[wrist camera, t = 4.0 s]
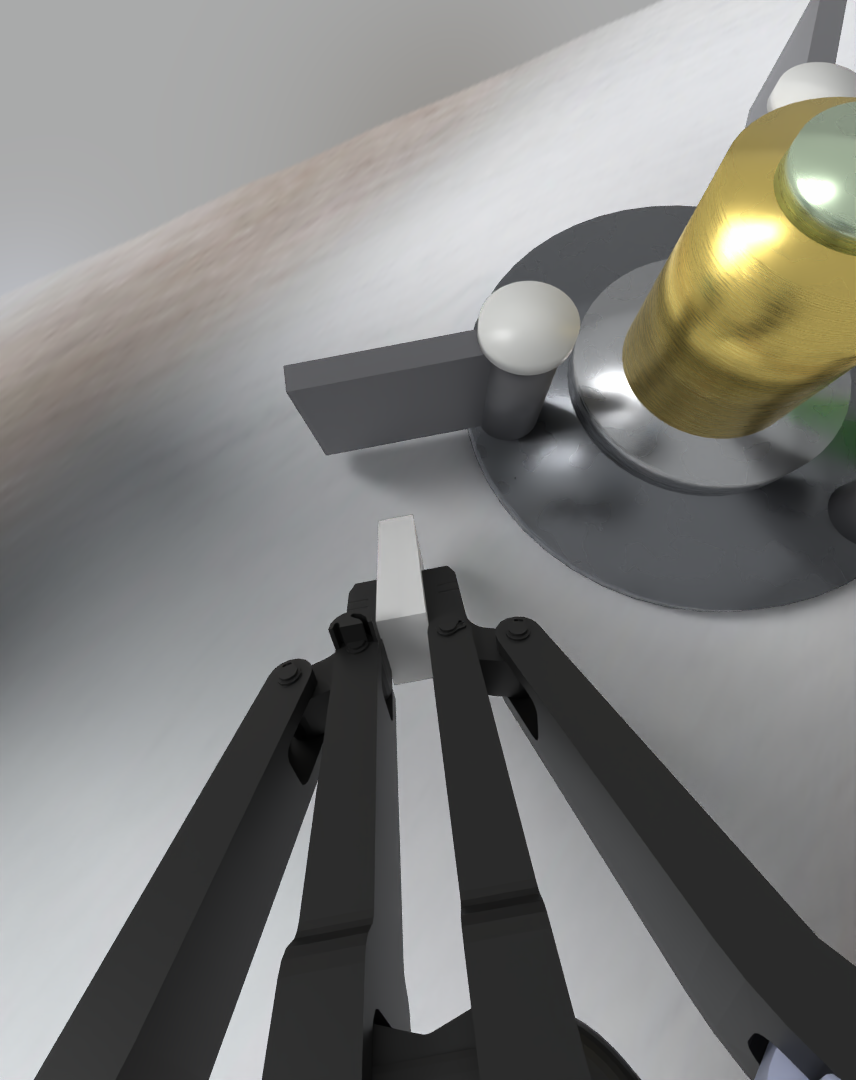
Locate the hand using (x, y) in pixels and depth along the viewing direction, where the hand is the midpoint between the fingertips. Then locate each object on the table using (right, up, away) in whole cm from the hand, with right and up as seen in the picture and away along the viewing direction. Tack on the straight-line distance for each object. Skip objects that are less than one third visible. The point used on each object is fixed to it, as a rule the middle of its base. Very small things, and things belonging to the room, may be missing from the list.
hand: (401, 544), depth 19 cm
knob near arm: (+1, +6, +3) cm, 7 cm away
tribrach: (+15, +8, +5) cm, 18 cm away
